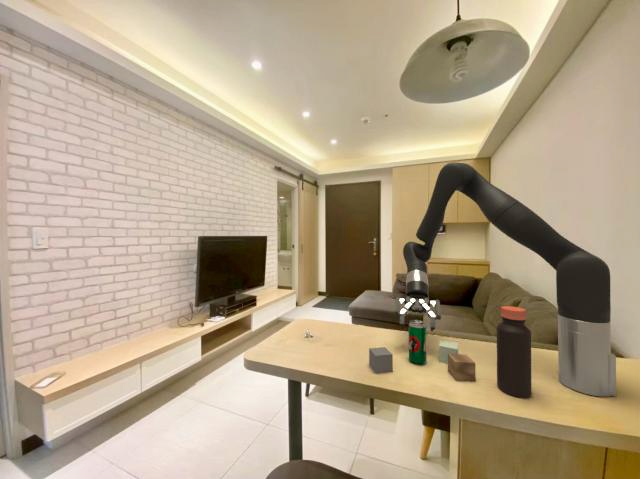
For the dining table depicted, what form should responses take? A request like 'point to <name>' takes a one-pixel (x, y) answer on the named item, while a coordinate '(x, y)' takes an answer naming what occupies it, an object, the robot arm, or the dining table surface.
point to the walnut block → (461, 367)
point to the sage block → (447, 350)
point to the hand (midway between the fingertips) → (417, 328)
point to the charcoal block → (381, 360)
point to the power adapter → (308, 333)
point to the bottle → (514, 353)
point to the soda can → (417, 342)
